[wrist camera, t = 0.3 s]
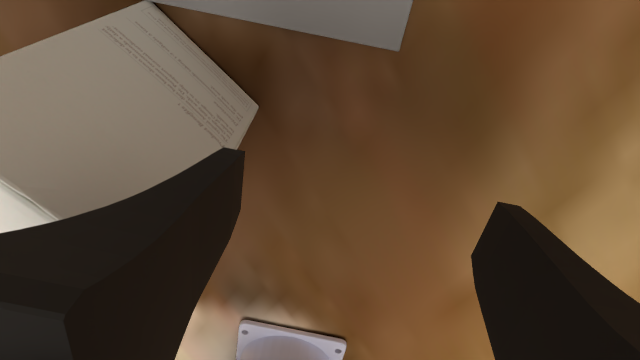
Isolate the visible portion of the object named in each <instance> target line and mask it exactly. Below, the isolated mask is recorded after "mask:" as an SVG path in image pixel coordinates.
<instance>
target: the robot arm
mask: <svg viewBox="0 0 640 360" xmlns="http://www.w3.org/2000/svg"><path fill="white" fill-rule="evenodd" d="M244 157H245V151H241V150H236V149H231V148H226V147H223V148H221V149H219V150H218V151H216V152H214V153H213V154H211V155H209V156H208V157H206V158H204V159H203V160H201V161H199V162H198V163H196V164H194V165H193V166H191V167H189V168H187V169H186V170H184V171H182V172H180V173H179V174H177V175H175V176H173V177H171V178H169V179H167V180H165V181H163V182H161V183H159V184H157V185H155V186H153V187H151V188H149V189H147V190H145V191H143V192H141V193H138V194H136V195H134V196H131V197H129V198H126V199H124V200H121V201H118V202H116V203H113V204H110V205H108V206H105V207H102V208H98V209H95V210H92V211H89V212H85V213H82V214H79V215H76V216H73V217H69V218H66V219H62V220H58V221H54V222H50V223H46V224H42V225H37V226H33V227H28V228H24V229H19V230H14V231H9V232H3V233H0V360H175V357H176V354H177V352H178V349H179V346H180V344H181V341H182V338H183V336H184V333H185V331H186V328H187V326H188V323H189V320H190V318H191V315H192V313H193V311H194V309H195V307H196V304H197V302H198V300H199V298H200V296H201V294H202V292H203V290H204V288H205V287H206V285H207V283H208V281H209V279H210V277H211V275H212V273H213V271H214V269H215V267H216V265H217V263H218V261H219V259H220V258H221V256H222V254H223V252H224V250H225V248H226V246H227V244H228V242H229V240H230V238H231V235H232V232H233V229H234V227H235V224H236V221H237V218H238V215H239V212H240V209H241V196H242V183H243V170H244ZM471 258H472V268H473V276H474V283H475V289H476V293H477V297H478V300H479V304H480V308H481V311H482V315H483V318H484V322H485V325H486V329H487V332H488V336H489V339H490V343H491V347H492V350H493V354H494V357H495V360H640V303H638V302H637V301H635V300H634V299H633V298H631V297H630V296H628V295H627V294H626V293H624V292H623V291H622V290H620V289H619V288H618V287H616V286H615V285H614V284H612V283H611V282H610V281H609V280H607V279H606V278H605V277H604V276H602V275H601V274H600V273H599V272H597V271H596V270H595V269H594V268H592V267H591V266H590V265H589V264H588V263H586V262H585V261H584V260H583V259H582V258H580V257H579V256H578V255H577V254H576V253H575V252H573V251H572V250H571V249H570V248H569V247H568V246H567V245H565V244H564V243H563V242H562V241H561V240H560V239H559V238H557V237H556V236H555V235H554V234H553V233H552V232H551V231H549V230H548V229H547V228H546V227H545V226H544V225H543V224H541V223H540V222H539V221H538V220H537V219H536V218H534V217H533V216H532V215H531V214H530V213H528V212H527V211H526V210H524V209H523V208H522V207H520V206H517V205H512V204H507V203H502V202H497V204H496V206H495V208H494V210H493V212H492V214H491V217H490V219H489V221H488V223H487V225H486V227H485V229H484V231H483V233H482V235H481V237H480V239H479V241H478V243H477V245H476V247H475V249H474V251H473V253H472V255H471ZM345 350H346V341H344V340H343V339H339V338H334V337H329V336H324V335H320V334H315V333H310V332H305V331H300V330H295V329H290V328H285V327H280V326H275V325H270V324H265V323H260V322H255V321H250V320H242V321H241V322H240V325H239V331H238V342H237V352H236V360H342V359H343V356H344V353H345Z"/></svg>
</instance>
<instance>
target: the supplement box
mask: <svg viewBox="0 0 640 360" xmlns="http://www.w3.org/2000/svg"><path fill="white" fill-rule="evenodd" d="M258 108H259V106H258V105H257V104H256V103H255V102H254V101H253V100H252V99H251V98H250V97H249V96H248V95H247V94H246V93H245V92H244V91H243V90H242V89H241V88H240V87H239V86H238V85H237V84H236V83H235V82H234V81H233V80H232V79H231V78H230V77H229V76H228V75H227V74H226V73H224V72H223V71H222V70H221V69H220V68H219V67H218V66H217V65H216V64H215V63H214V62H213V61H212V60H211V59H210V58H209V57H208V56H207V55H206V54H205V53H204V52H203V51H202V50H201V49H200V48H199V47H198V46H197V45H196V44H195V43H194V42H193V41H191V40H190V39H189V38H188V37H187V36H186V35H185V34H184V33H183V32H182V31H181V30H180V29H179V28H178V27H177V26H176V25H175V24H174V23H173V22H172V21H171V20H170V19H169V18H168V17H167V16H166V15H165V14H164V13H163V12H162V11H161V10H159V9H158V8H157V7H156V6H155V5H154V4H153V3H152V2H151V1H147V0H145V1H142V2H139V3H137V4H134V5H131V6H129V7H127V8H124V9H121V10H119V11H116V12H114V13H111V14H108V15H106V16H103V17H101V18H98V19H96V20H93V21H91V22H88V23H86V24H83V25H80V26H78V27H75V28H73V29H70V30H67V31H65V32H62V33H60V34H57V35H55V36H52V37H49V38H47V39H44V40H42V41H39V42H37V43H34V44H31V45H29V46H26V47H24V48H21V49H18V50H16V51H13V52H11V53H8V54H5V55H3V56H0V233H3V232H9V231H14V230H19V229H24V228H28V227H33V226H37V225H42V224H46V223H50V222H54V221H58V220H62V219H66V218H69V217H73V216H76V215H79V214H82V213H85V212H89V211H92V210H95V209H98V208H102V207H105V206H108V205H110V204H113V203H116V202H118V201H121V200H124V199H126V198H129V197H131V196H134V195H136V194H138V193H141V192H143V191H145V190H147V189H149V188H151V187H153V186H155V185H157V184H159V183H161V182H163V181H165V180H167V179H169V178H171V177H173V176H175V175H177V174H179V173H180V172H182V171H184V170H186V169H187V168H189V167H191V166H193V165H194V164H196V163H198V162H199V161H201V160H203V159H204V158H206V157H208V156H209V155H211V154H213V153H214V152H216V151H218V150H219V149H221V148H223V147H226V148H231V149H236V150H237V148H238V147H239V145H240V143H241V141H242V139H243V137H244V135H245V133H246V131H247V129H248V127H249V126H250V124H251V122H252V120H253V118H254V116H255V114H256V112H257V110H258Z"/></svg>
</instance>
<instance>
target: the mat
mask: <svg viewBox="0 0 640 360" xmlns="http://www.w3.org/2000/svg"><path fill="white" fill-rule="evenodd" d="M147 1H152V2H157V3H162V4H167V5H172V6H176V7H181V8H186V9H191V10H196V11H201V12H206V13H211V14H216V15H221V16H226V17H231V18H236V19H240V20H245V21H250V22H255V23H260V24H265V25H270V26H275V27H280V28H285V29H290V30H295V31H300V32H304V33H309V34H314V35H319V36H324V37H329V38H334V39H339V40H344V41H349V42H354V43H359V44H364V45H368V46H373V47H378V48H383V49H388V50H393V51H398V52H399V49H400V46H401V42H402V38H403V35H404V31H405V28H406V24H407V20H408V17H409V13H410V9H411V6H412V2H413V0H147Z"/></svg>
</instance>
